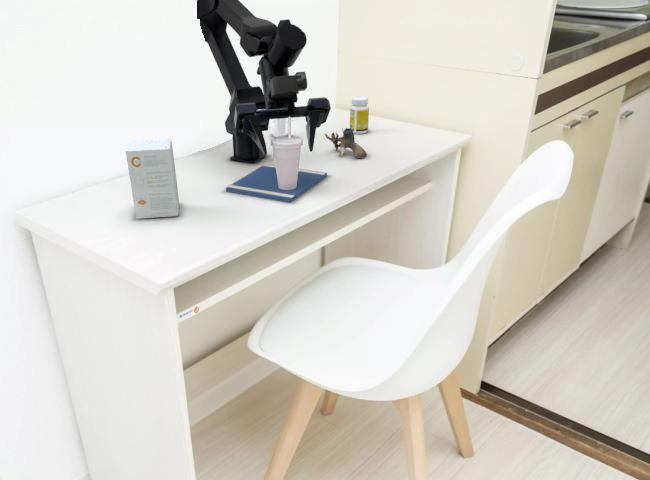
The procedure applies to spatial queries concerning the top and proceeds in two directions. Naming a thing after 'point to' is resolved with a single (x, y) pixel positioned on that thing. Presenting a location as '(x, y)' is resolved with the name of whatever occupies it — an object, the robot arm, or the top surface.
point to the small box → (153, 178)
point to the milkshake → (279, 127)
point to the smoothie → (287, 158)
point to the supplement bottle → (359, 115)
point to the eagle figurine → (347, 143)
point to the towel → (274, 184)
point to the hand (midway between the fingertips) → (288, 152)
